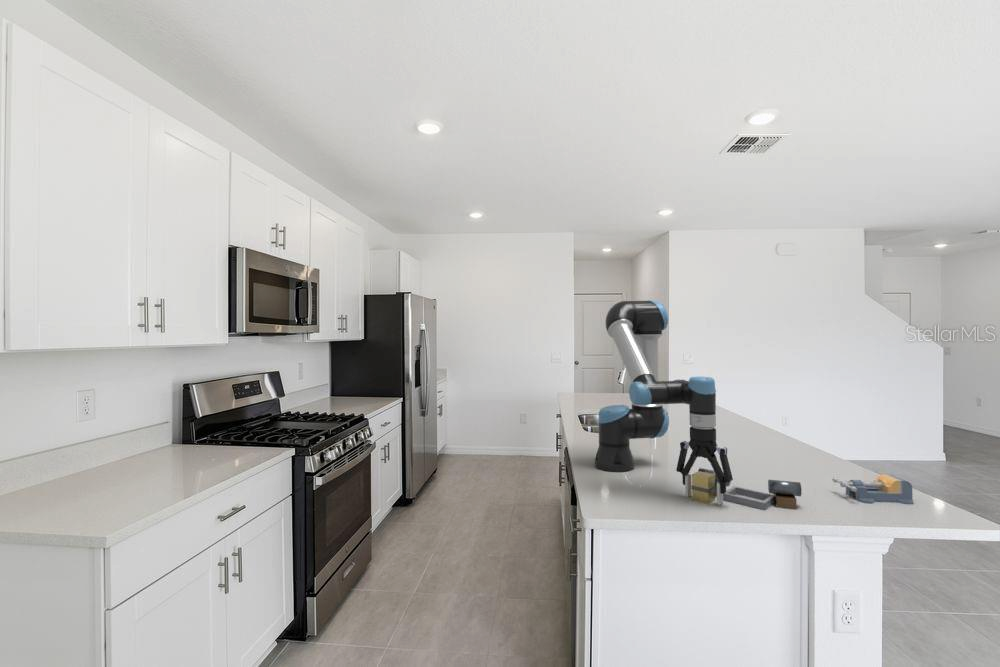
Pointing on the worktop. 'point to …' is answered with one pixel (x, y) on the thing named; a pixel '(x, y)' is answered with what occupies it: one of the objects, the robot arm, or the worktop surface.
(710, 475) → the gold rectangular block
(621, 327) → the robot arm
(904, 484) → the vise
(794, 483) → the shaft
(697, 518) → the worktop surface
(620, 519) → the worktop surface
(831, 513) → the worktop surface
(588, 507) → the worktop surface
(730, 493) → the cradle
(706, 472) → the shaft
